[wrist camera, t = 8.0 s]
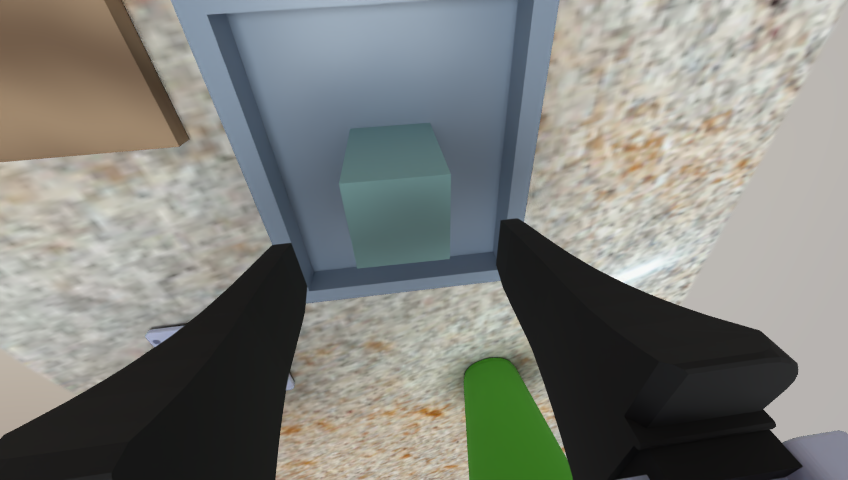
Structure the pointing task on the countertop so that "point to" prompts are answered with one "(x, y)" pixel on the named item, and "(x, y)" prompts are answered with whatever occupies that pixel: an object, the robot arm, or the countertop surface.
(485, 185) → the tray
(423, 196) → the teal block
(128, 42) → the plinth
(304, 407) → the countertop surface
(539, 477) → the cup
